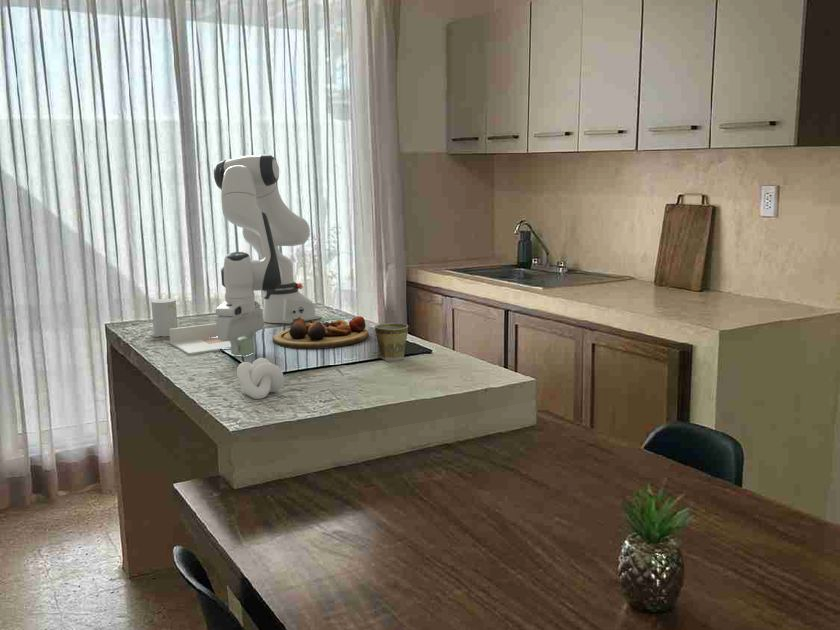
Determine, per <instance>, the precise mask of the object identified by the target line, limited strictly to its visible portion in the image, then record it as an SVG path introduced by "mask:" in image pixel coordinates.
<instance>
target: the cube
mask: <svg viewBox="0 0 840 630" xmlns="http://www.w3.org/2000/svg"><path fill="white" fill-rule="evenodd" d="M254 338H255V337H254ZM254 338H245V337H239V338H238V341H237V343H238V346H240V351H239V352H233V346H232V345H231V349H230V350H231V355H232V354H235V355H244V356H246V355H249V354H251V353H255V341H254V340H255V339H254Z"/></svg>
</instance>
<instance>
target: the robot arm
mask: <svg viewBox="0 0 840 630" xmlns="http://www.w3.org/2000/svg"><path fill="white" fill-rule="evenodd" d="M213 168H214V169H213V177H214V178H213V179H214V182H215V184H216V186H217V187H218V189H219V190H221V194H220V195H221V209H222V215H223V216H224V217H225V219H226V220H227V221H228V222H229V223H231V224H233V225H234V226H237V227H239V228H241V229H242V236H243V238H244V240H245V242H246V243H247V244H248V245H250V246H251V247H252V248H253V249H254V250H255V252H256V253H257V255H258V257H259V259H257V260H254V259H253V260H252V259H251V255H250V254H249V253H247V252H243V251H234V252H230V253H228V254H225V256H224V261H223V267H222V268H221V270H220V274H221V275H220V277H221V285H222V286H223V287H224V289H225V294H224V300H223V302H222V303H220V304H219V306H217V307H216V308H215V311H214V312H215V315H216V316H217V317H216V321H215V323H216V325H217V336H218V339H219V340H220V341H230V343H231V345H232V346H233V352H239V351H240V346H238V343H237V341H238V338H239V337H242V336H245V335H246V336H247V338H255V333H256V332H259V331H262V330H263V329H264V326H265V323H268V324H287V325H291V324H290V323H292V322H293V320H292V319H297V318H298V317H300V316H301V317H300V318H303V319H304V320H305V322H308V321H314V320H317V319H322V314H321V313H319V312H316V309H315V304H314V303H313V301H312V300H311V299H310V298H309V297H307V296H306V295H304V294H303V293H301V292H300V291H299V290H302V289H303V284H302V283H301V282H298V283H296V282H295V281H294V265H293V262H292V260H291V259H290V258H289V257H288V256H285V254H283V253H281V251H280V249H279V247H296V246H300V245H305V243H306V242H308V240H309V237H310V234H311V230H310V229H311V228H310V225H309V223H308V221H307V220H306V219H305V218H303V217H301V216H299V215H298V214H296V213H295V212H293V211H292V210H290V208H289V207H288V206H287V205H286V204H285V202H284V201H283V199H282V196H281V194H280V192H279V189H278V185H277V182H278V180H279V179H280V167H279V164H278V161H277V159H276V158H275V157H274V156H273V155H272V154H265V153H264V154H258V155H257V154H255V155H244V156H240V157H236V158H235V157H234V158H230V159H224V160H221V161H219V162H217V163H216V164H215V166H214V167H213ZM254 291H255V292H256V291H262V297H263V309H262V308H261V304H260V303H259V302H258V301H255V293H254Z"/></svg>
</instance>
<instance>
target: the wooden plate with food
mask: <svg viewBox="0 0 840 630" xmlns="http://www.w3.org/2000/svg"><path fill="white" fill-rule="evenodd" d="M300 317H301V316H300ZM300 317H298V318H297V319H292V320H293V322H292V323H290V324H289V325H290V326H289V328H288V329H285V330H282V331H280V332H277V333H276V334H274V335H273V337H272V341H273V343H274V344H275V345H277V346H279V345H280V346H279V347H283V346H284V347H283V348H288V347H291V348H290V349H297V348H300V349H299V350H303V349H305V350H312V349H313V350H314V349H327V348H329V349H330V348H331V349H332V348H337V347H338V348H339V347H344V346H349V345H350V346H351V345H353V344H357V343H360V342H363V341H365V340H366V339H367V338H368V337H369V331H368V330H367V328H366V326H367V325H366V321H365V318H364V317H363V316H361V315H357V316H354V317H353V318H351V320H349V322H347V321H346V320H343V319H337V320H332V321H330V322H327V321H325V322H320V321H319V320H318V321H317V320H309V322H308V323H306V321H305V320H304V319H303V318H300Z"/></svg>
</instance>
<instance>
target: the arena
mask: <svg viewBox="0 0 840 630" xmlns="http://www.w3.org/2000/svg"><path fill="white" fill-rule="evenodd" d="M216 336H217V325H216V322H215V323H206V324H198V325H190V326H183V327H178V328H172V329H170V336H169V339H170V344H171V345H172V346H174V347H176V348H177V349H178V348H179V350H181V351H182V352H183V353H185V354H187V355H188V356H189V355H197V354H205V353H206V354H207V353H211V352H212V353H213V352H220V351H221V350H220V349H222V348H231V343H230V341H220V340H219V339H218V338H211V339H209V337H216ZM242 337H245V338H247V336H246V335H245V336H242ZM216 343H217V344H216Z"/></svg>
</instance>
